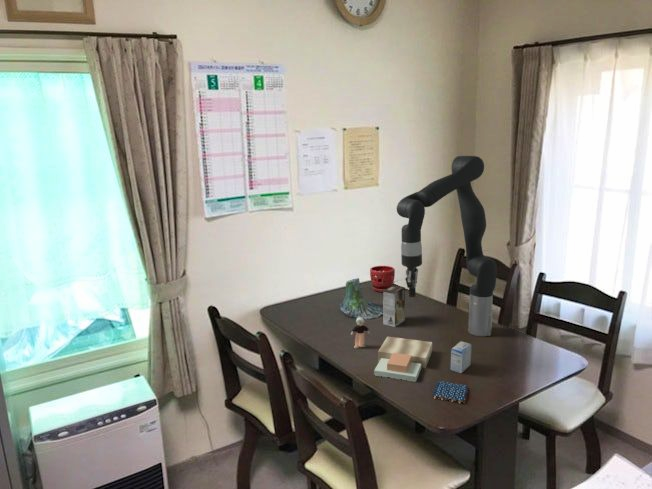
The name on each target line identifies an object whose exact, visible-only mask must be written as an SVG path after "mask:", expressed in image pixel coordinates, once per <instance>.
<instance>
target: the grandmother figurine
mask: <svg viewBox="0 0 652 489" xmlns="http://www.w3.org/2000/svg"><path fill="white" fill-rule="evenodd" d="M355 322H356V325H355V326H354V327H353V328H352V329H351V333H350V335H351V336H353V335H354V334H355V335H354V336H355V338H354V346H353V348H354V349H359V348H361V347H365V348H366V345H365V340H366V339H365V332H366V333H367V334H368V335H369V334H371V331H370V329H369V328H368V327H367V326H366V325H364V324H365V319H363V318H361V317H359V318H357V319H355Z"/></svg>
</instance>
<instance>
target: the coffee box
mask: <svg viewBox="0 0 652 489" xmlns="http://www.w3.org/2000/svg"><path fill="white" fill-rule="evenodd" d="M405 288H406V287H405V286H399V285H395V284H394V285H393V284H392V286H391V287H389V288H387V289H385V290H383V292H382V309H383V315H382V317H383V318H382V321H383V322H382V324H383V325H385V326H390V327H393V328H396V327H397V326H399V325H400V324H402V323H403V322H405V320H406V303H405V302H406V300H405V299H406V298H405V297H406V294H405V293H406V289H405Z"/></svg>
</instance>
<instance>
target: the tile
mask: <svg viewBox="0 0 652 489" xmlns="http://www.w3.org/2000/svg"><path fill="white" fill-rule="evenodd" d="M411 362H412V355H406V354H399V353H393V354H392V356H391V357H390V359H389V361H388V363H387V370H390V371H397V372H404V373H407V371H408V368H409V366H410V364H411Z"/></svg>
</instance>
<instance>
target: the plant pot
mask: <svg viewBox="0 0 652 489" xmlns="http://www.w3.org/2000/svg"><path fill="white" fill-rule="evenodd" d="M395 272H396V269H395V268H394V267H393V266H389V265H377V266H376V265H375V266H371V267H370V269H369V274H370V281H371V283H372V285H371V289H372V290H374V291H376V292H378V293H383V290H385V289H387V288H389V287H391V286H392V285H393V283H394V281H395V275H396V274H395Z"/></svg>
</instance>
